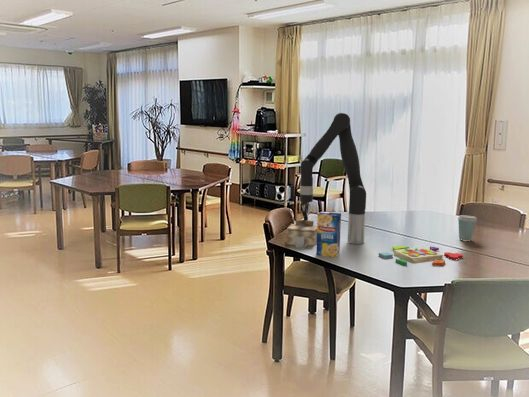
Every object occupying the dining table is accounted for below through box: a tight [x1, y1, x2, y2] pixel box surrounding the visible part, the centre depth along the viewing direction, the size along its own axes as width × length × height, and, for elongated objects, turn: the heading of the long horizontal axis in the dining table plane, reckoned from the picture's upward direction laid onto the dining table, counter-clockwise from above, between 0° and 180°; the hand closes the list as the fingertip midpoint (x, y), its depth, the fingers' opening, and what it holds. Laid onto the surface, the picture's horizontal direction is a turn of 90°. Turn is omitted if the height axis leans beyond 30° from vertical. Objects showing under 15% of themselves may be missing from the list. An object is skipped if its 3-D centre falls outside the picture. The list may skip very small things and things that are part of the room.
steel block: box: [294, 236, 306, 249], centre depth 276 cm, size 4×4×6 cm
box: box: [285, 229, 317, 247], centre depth 285 cm, size 16×12×8 cm
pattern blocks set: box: [378, 245, 464, 267], centre depth 261 cm, size 38×34×3 cm
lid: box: [286, 219, 317, 232], centre depth 284 cm, size 16×12×4 cm
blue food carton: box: [315, 211, 342, 258], centre depth 261 cm, size 7×11×22 cm, turn 68°
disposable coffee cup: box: [457, 214, 478, 241], centre depth 295 cm, size 11×11×15 cm
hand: (305, 222), depth 291 cm, fingers closed
